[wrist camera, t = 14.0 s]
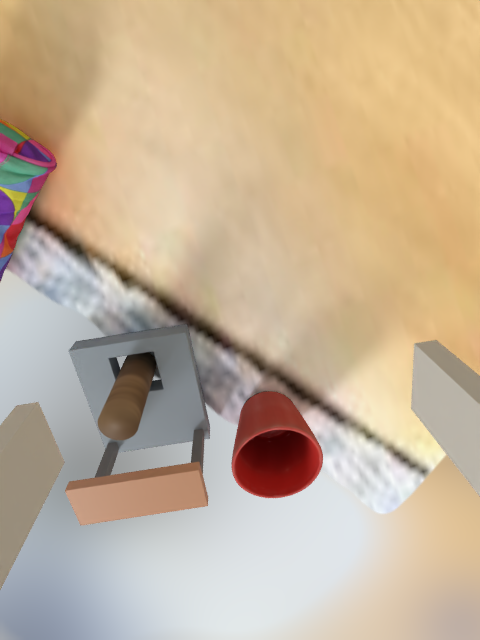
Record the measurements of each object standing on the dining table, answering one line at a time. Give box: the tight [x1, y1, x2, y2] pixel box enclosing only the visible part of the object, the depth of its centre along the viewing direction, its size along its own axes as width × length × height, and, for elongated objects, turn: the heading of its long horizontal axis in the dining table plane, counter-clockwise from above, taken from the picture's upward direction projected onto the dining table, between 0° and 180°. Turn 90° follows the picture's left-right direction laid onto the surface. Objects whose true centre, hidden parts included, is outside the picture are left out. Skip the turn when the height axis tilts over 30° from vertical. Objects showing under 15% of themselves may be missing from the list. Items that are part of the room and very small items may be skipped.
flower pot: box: [232, 391, 323, 498], centre depth 48 cm, size 11×11×10 cm
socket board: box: [65, 324, 210, 525], centre depth 43 cm, size 16×14×13 cm
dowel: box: [98, 352, 156, 440], centre depth 43 cm, size 4×4×12 cm
